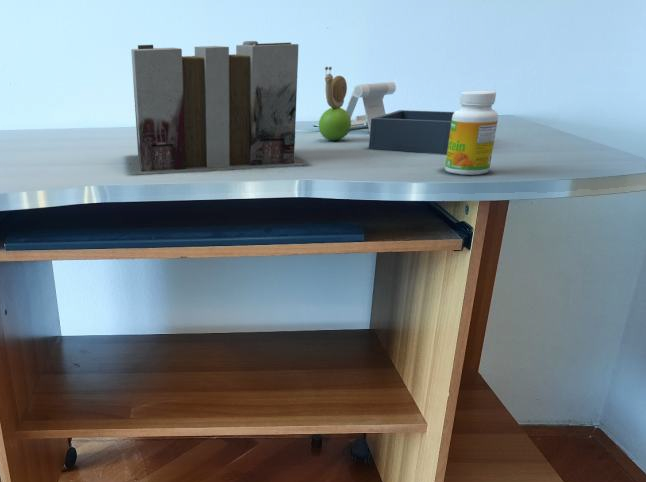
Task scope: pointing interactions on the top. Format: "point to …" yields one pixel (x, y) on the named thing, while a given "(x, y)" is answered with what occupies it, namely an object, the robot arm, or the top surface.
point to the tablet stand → (369, 102)
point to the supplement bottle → (472, 134)
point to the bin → (411, 131)
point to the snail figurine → (335, 109)
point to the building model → (215, 108)
